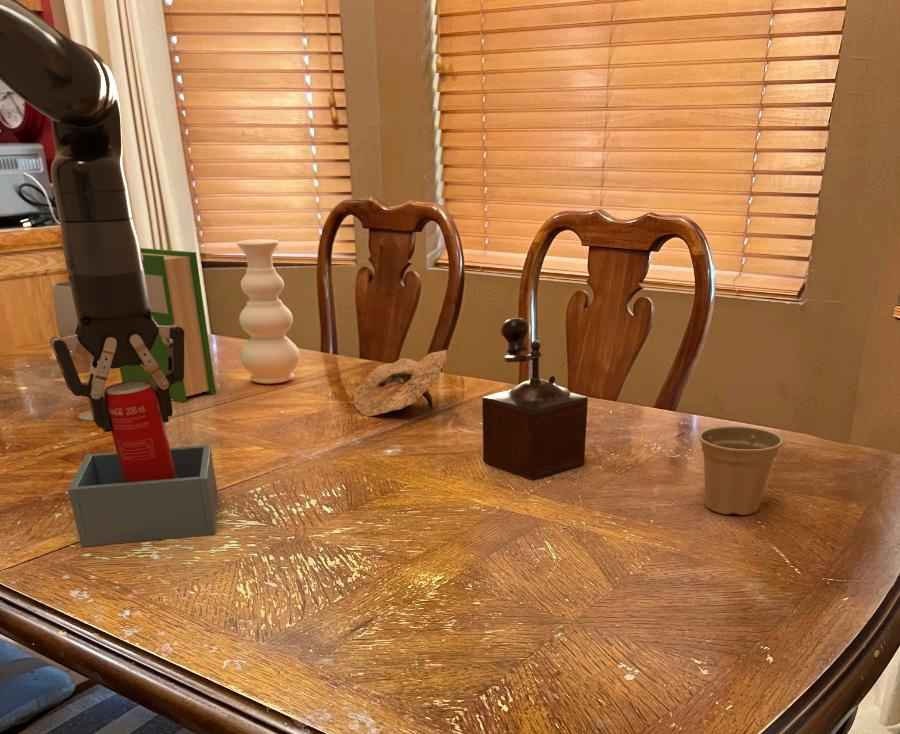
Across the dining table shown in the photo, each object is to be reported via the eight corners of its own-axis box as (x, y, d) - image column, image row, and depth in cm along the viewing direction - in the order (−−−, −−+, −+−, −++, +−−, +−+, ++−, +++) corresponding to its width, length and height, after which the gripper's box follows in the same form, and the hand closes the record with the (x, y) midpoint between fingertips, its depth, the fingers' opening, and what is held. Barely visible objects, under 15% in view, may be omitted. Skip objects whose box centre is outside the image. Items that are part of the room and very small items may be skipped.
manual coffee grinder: (590, 463, 119) (598, 328, 110) (532, 481, 112) (536, 340, 104) (514, 438, 129) (516, 314, 121) (457, 453, 123) (455, 324, 115)
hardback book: (215, 393, 156) (195, 252, 145) (182, 402, 151) (158, 256, 140) (157, 381, 166) (133, 247, 155) (123, 388, 161) (97, 251, 150)
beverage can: (192, 509, 103) (172, 383, 96) (141, 525, 98) (116, 394, 91) (167, 497, 106) (145, 375, 99) (117, 511, 102) (91, 385, 95)
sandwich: (356, 450, 146) (333, 412, 142) (383, 408, 156) (362, 371, 152) (447, 421, 137) (426, 379, 133) (469, 378, 147) (450, 338, 143)
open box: (81, 547, 96) (67, 489, 93) (97, 506, 107) (86, 454, 104) (215, 534, 98) (206, 478, 95) (218, 496, 109) (210, 444, 106)
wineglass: (74, 423, 141) (44, 288, 131) (80, 411, 147) (52, 281, 137) (122, 419, 142) (96, 285, 132) (126, 407, 149) (102, 279, 139)
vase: (233, 380, 165) (214, 240, 153) (281, 371, 171) (267, 236, 160) (263, 390, 158) (246, 244, 146) (312, 380, 164) (300, 239, 153)
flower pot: (679, 512, 102) (687, 442, 98) (703, 488, 109) (712, 421, 105) (760, 527, 98) (772, 454, 94) (780, 501, 105) (791, 432, 101)
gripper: (164, 259, 96) (188, 408, 103) (25, 269, 89) (62, 428, 97) (184, 265, 90) (207, 423, 98) (37, 276, 83) (75, 445, 91)
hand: (135, 425), depth 97 cm, fingers closed on beverage can, 5 cm apart
